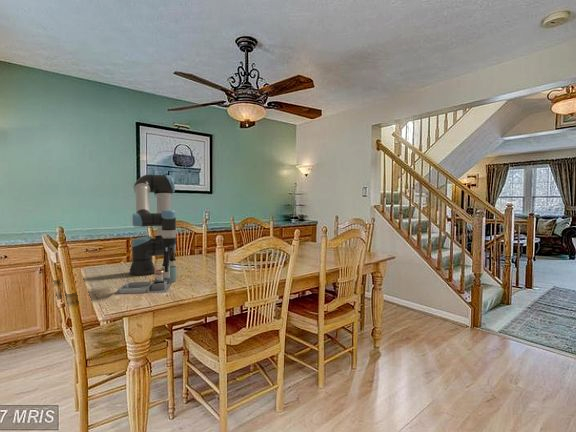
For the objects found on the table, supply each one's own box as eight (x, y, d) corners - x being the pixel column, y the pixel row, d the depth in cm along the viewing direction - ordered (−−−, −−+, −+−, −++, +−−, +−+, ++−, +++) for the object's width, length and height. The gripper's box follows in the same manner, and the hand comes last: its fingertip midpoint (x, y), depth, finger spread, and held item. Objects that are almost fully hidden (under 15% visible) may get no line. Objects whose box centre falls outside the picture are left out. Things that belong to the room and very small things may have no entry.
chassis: (128, 288, 172) (127, 279, 172) (172, 286, 176) (172, 278, 175) (117, 297, 156) (116, 287, 156) (166, 295, 160) (165, 286, 159)
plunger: (155, 281, 169) (155, 270, 168) (165, 280, 169) (164, 269, 169) (153, 283, 164) (153, 272, 163) (163, 283, 165) (162, 271, 164)
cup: (179, 283, 181) (179, 266, 181) (168, 286, 175) (168, 269, 174) (170, 281, 185) (170, 264, 185) (159, 284, 179) (158, 267, 178)
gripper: (171, 239, 167) (172, 279, 168) (179, 235, 191) (180, 270, 192) (156, 240, 166) (157, 280, 166) (166, 235, 190) (167, 270, 191)
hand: (169, 274), depth 179 cm, fingers open, 13 cm apart
